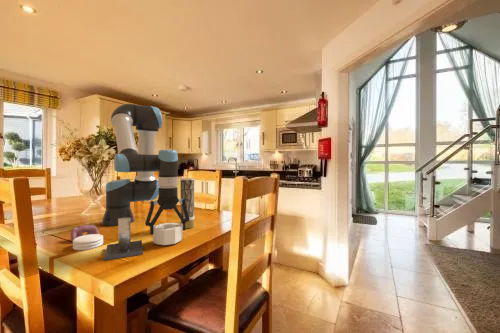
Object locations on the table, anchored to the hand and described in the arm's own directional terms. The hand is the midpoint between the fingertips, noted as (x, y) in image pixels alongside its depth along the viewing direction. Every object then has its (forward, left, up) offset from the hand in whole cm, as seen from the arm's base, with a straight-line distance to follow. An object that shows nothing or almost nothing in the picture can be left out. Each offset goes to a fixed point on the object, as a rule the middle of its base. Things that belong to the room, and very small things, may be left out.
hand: (168, 239), depth 98 cm
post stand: (+3, -16, -1) cm, 16 cm away
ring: (0, 0, 0) cm, 0 cm away
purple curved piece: (-20, -32, -1) cm, 37 cm away
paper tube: (-19, +12, -1) cm, 22 cm away
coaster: (-10, -29, -1) cm, 31 cm away
